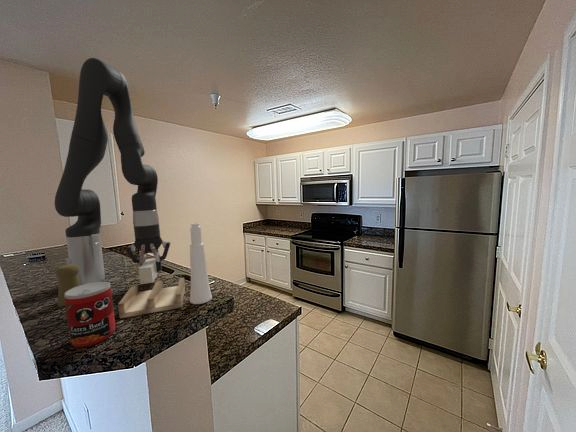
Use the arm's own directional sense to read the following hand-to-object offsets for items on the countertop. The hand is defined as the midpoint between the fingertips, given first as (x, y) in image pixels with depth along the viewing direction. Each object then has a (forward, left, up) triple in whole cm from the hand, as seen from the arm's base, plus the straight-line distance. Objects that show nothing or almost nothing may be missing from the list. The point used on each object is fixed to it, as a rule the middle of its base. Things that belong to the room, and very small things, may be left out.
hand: (151, 272), depth 85 cm
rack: (+4, -18, -4) cm, 19 cm away
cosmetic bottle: (+16, -22, -4) cm, 27 cm away
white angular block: (0, -3, -1) cm, 3 cm away
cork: (-20, -7, -4) cm, 22 cm away
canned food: (-6, -32, -4) cm, 33 cm away
